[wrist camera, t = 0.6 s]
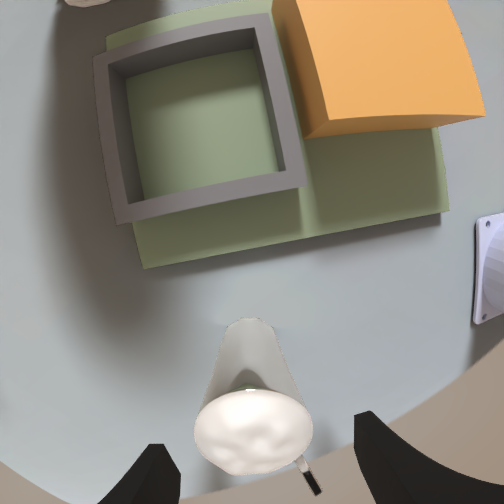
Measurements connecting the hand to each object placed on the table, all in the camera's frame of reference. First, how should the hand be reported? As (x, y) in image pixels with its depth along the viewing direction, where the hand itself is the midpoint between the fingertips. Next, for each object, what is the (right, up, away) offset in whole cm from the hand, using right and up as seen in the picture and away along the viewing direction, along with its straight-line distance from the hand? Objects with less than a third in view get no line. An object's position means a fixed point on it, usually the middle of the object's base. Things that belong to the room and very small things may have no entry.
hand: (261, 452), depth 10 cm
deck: (+1, +15, +6) cm, 16 cm away
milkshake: (0, +2, +9) cm, 9 cm away
